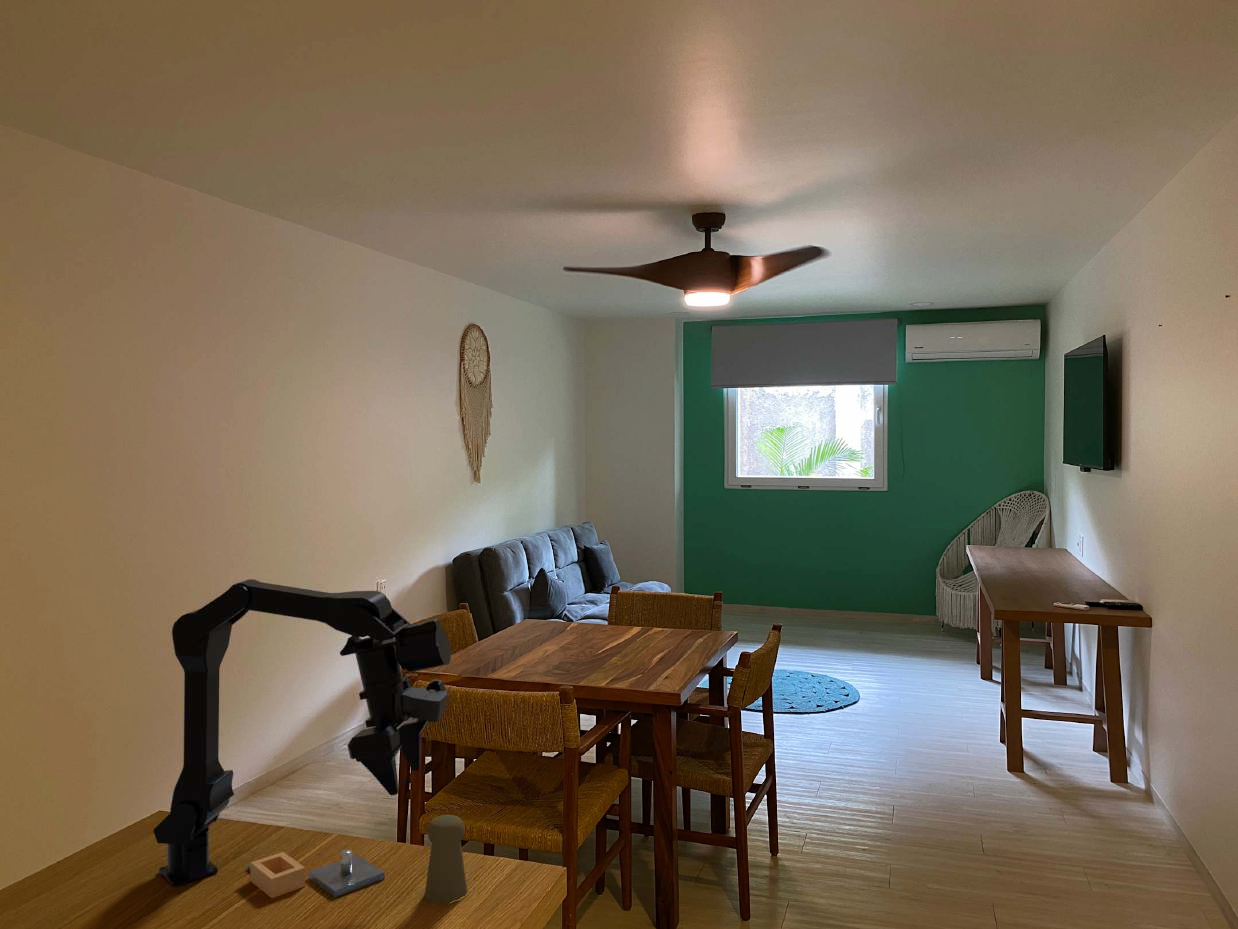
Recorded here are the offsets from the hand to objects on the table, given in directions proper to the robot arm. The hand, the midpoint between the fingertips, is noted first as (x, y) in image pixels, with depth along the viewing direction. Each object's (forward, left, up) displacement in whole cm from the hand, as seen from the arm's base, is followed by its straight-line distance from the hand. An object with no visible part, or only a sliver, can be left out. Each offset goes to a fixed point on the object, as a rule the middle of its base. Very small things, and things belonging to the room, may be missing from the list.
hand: (406, 782), depth 136 cm
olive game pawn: (+6, +3, -15) cm, 17 cm away
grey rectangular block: (-19, -13, -15) cm, 28 cm away
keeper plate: (-8, -5, -15) cm, 18 cm away
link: (-13, -13, -15) cm, 24 cm away
